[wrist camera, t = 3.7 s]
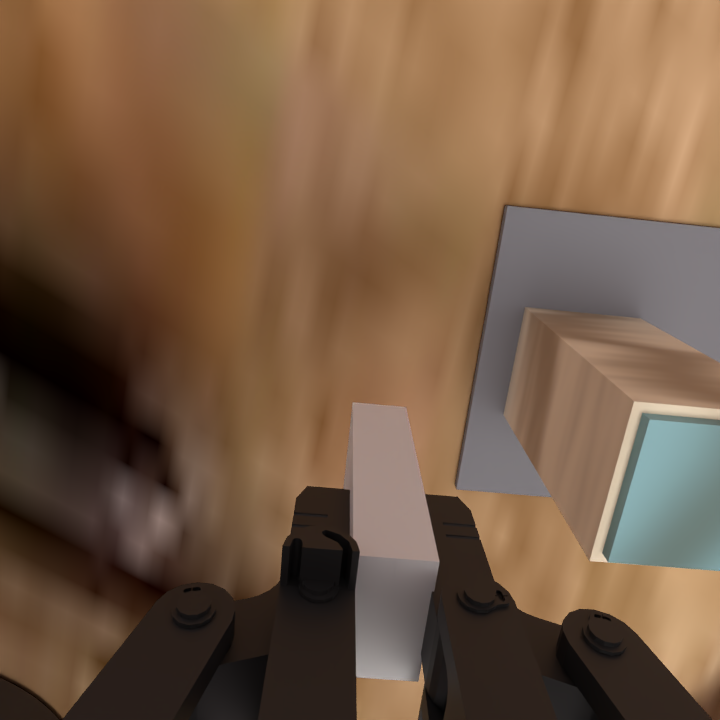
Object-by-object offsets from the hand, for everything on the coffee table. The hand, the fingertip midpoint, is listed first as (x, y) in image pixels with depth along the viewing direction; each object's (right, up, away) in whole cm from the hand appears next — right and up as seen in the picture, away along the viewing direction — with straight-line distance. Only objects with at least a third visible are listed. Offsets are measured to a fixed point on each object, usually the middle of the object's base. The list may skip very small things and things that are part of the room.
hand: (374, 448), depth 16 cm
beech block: (+9, +2, +9) cm, 13 cm away
